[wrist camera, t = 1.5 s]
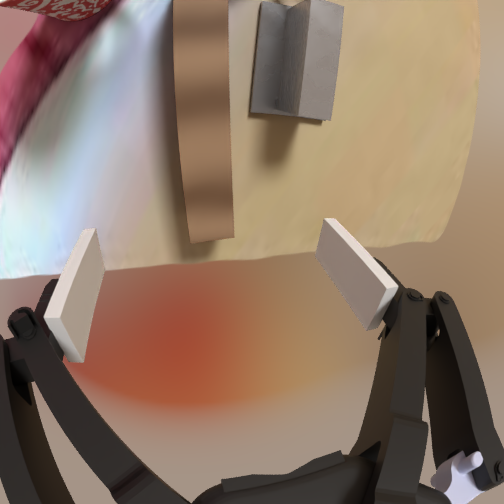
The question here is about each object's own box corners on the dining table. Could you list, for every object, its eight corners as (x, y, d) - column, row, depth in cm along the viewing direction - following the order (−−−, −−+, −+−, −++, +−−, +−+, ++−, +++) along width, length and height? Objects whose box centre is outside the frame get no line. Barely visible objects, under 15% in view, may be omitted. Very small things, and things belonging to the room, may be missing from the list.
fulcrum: (249, 111, 25) (267, 118, 20) (260, 2, 18) (281, -16, 13) (323, 119, 27) (353, 130, 22) (335, 19, 20) (368, 11, 15)
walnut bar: (224, 209, 30) (234, 237, 25) (187, 214, 29) (190, 243, 25) (217, -11, 17) (228, -33, 12) (174, -8, 16) (174, -31, 11)
